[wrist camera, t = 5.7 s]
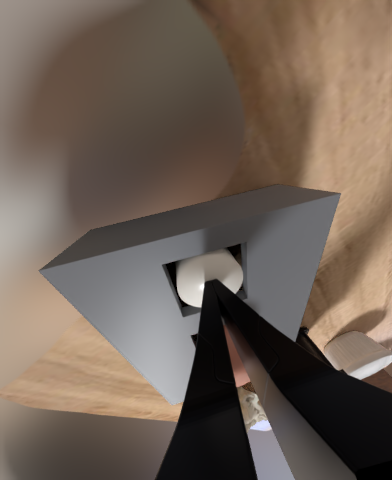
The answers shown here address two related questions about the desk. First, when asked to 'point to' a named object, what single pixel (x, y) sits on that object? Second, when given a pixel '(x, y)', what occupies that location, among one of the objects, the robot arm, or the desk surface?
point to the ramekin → (357, 354)
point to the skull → (250, 407)
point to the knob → (206, 274)
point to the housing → (184, 246)
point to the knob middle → (236, 362)
